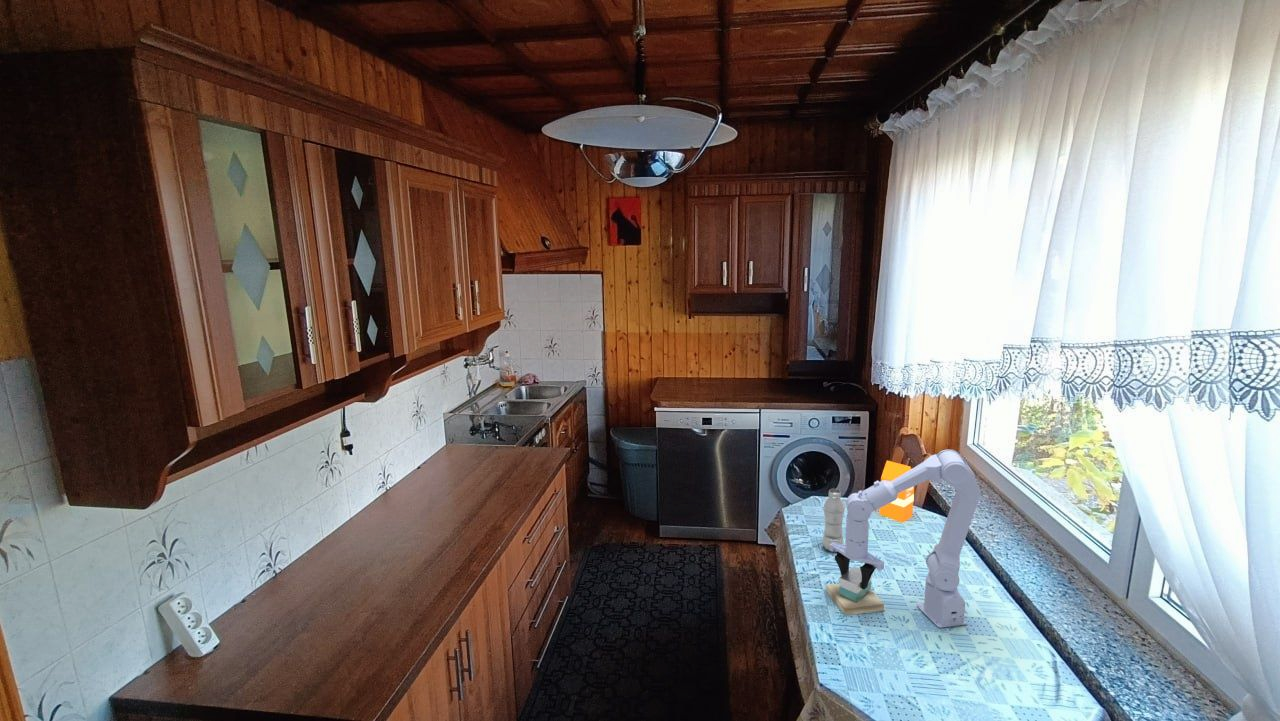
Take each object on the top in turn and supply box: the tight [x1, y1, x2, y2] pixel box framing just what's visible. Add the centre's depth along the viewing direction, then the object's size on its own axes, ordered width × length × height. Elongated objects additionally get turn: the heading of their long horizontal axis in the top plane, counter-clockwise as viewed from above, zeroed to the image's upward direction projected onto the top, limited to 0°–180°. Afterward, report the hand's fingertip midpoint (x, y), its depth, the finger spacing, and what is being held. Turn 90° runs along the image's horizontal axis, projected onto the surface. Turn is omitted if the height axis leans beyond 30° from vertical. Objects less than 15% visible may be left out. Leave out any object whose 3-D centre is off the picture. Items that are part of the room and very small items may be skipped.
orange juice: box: [878, 460, 915, 524], centre depth 200 cm, size 8×9×20 cm
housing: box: [839, 565, 872, 602], centre depth 153 cm, size 8×5×5 cm, turn 132°
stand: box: [825, 582, 885, 616], centre depth 153 cm, size 11×11×2 cm
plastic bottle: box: [822, 488, 846, 553], centre depth 179 cm, size 6×7×20 cm
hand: (854, 583), depth 153 cm, fingers closed on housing, 5 cm apart
